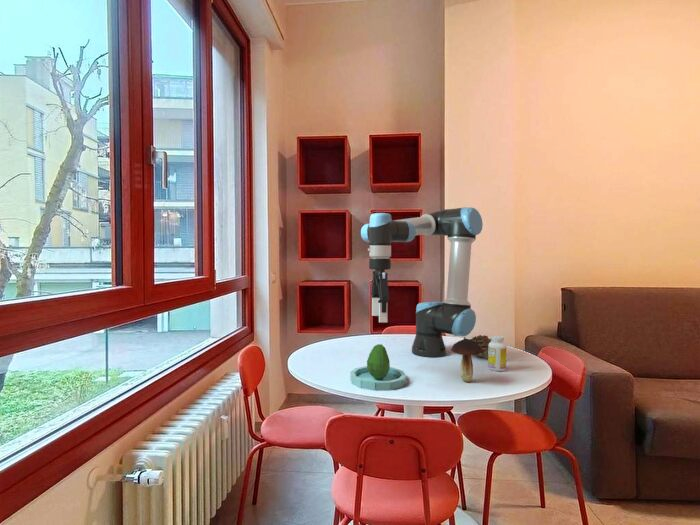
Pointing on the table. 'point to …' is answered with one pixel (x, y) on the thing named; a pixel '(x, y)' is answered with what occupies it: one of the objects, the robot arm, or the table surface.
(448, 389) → the table surface
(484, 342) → the pine cone
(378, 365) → the avocado
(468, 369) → the decorative mushroom
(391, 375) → the dish
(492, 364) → the supplement bottle
